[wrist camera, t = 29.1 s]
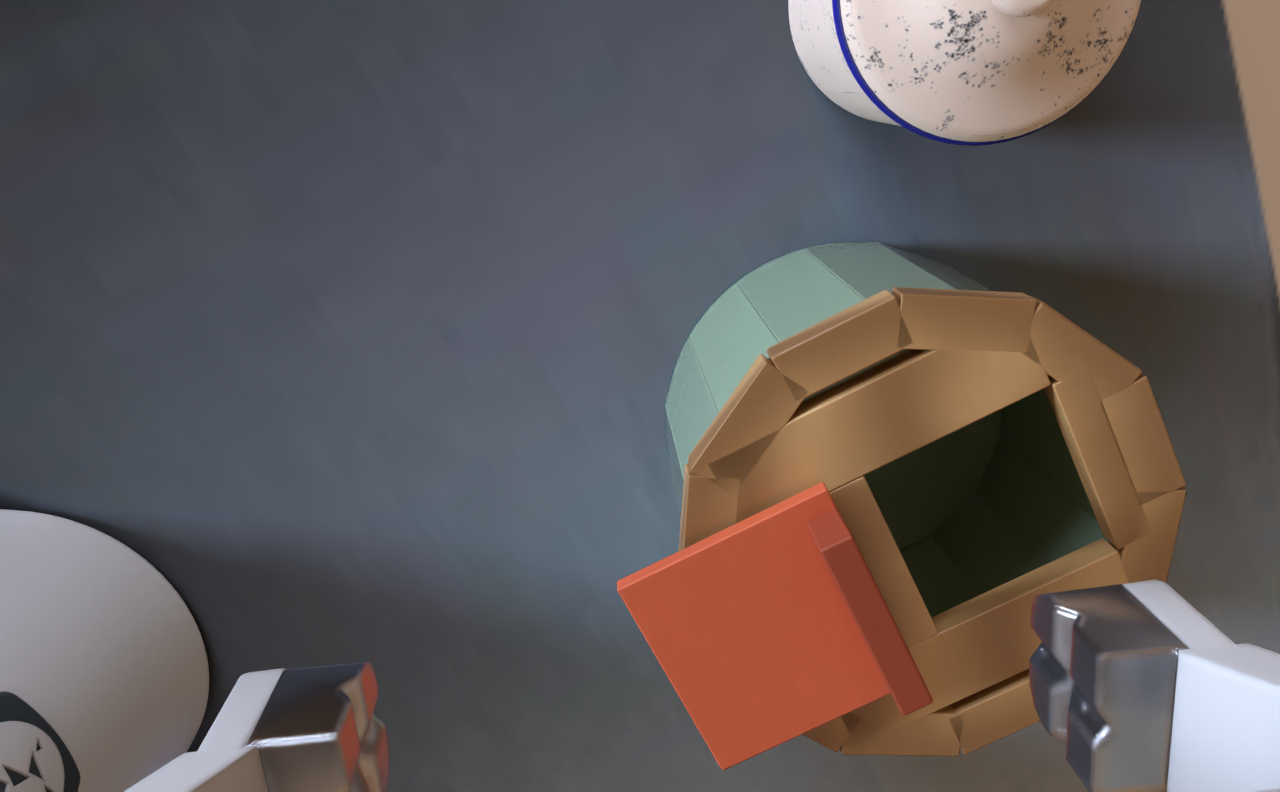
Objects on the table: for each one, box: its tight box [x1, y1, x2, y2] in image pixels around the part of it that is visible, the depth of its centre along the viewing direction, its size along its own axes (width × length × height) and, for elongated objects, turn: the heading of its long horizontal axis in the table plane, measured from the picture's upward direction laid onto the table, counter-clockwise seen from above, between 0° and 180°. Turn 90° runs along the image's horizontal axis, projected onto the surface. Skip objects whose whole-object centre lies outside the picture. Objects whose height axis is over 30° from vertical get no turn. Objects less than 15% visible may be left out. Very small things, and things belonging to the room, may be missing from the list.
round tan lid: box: [679, 287, 1187, 756], centre depth 32 cm, size 15×15×1 cm
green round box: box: [665, 242, 1108, 617], centre depth 38 cm, size 14×14×11 cm
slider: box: [617, 482, 933, 770], centre depth 31 cm, size 7×7×3 cm
